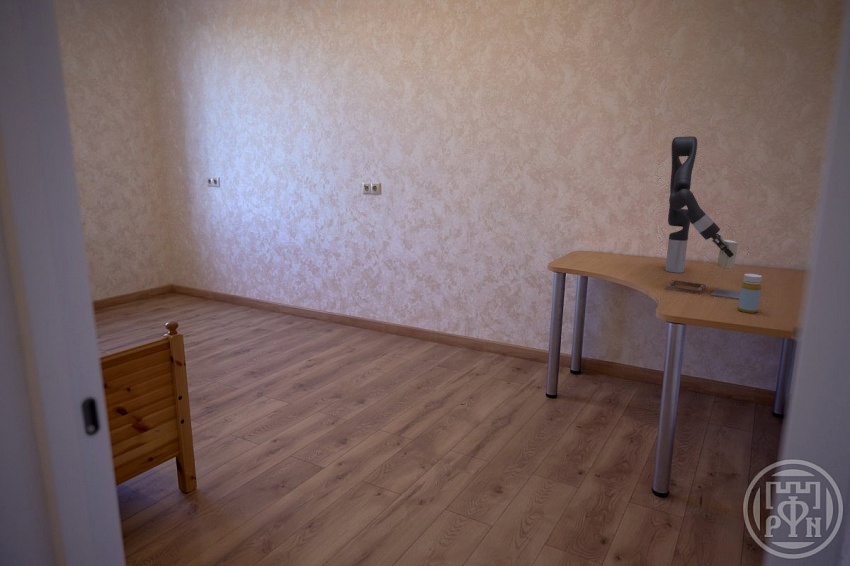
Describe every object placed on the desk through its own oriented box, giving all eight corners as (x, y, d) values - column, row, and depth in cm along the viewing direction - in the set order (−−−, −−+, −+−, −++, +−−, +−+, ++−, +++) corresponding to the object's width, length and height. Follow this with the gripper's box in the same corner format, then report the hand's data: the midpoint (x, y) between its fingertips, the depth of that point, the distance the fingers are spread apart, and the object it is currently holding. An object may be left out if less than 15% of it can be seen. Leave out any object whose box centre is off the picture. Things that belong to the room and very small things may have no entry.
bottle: (755, 309, 231) (761, 274, 227) (759, 314, 225) (764, 277, 221) (736, 307, 233) (741, 272, 230) (739, 312, 227) (745, 276, 223)
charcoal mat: (715, 289, 262) (715, 288, 262) (744, 293, 256) (744, 292, 255) (710, 295, 252) (711, 294, 251) (741, 300, 245) (741, 298, 245)
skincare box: (716, 266, 254) (720, 239, 251) (726, 266, 255) (730, 239, 252) (724, 269, 248) (728, 242, 245) (734, 269, 249) (738, 242, 246)
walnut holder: (671, 282, 274) (672, 279, 274) (705, 287, 266) (705, 284, 266) (665, 289, 262) (665, 285, 262) (699, 294, 254) (700, 290, 254)
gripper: (713, 223, 243) (740, 252, 241) (713, 219, 256) (738, 246, 254) (698, 234, 247) (724, 262, 245) (698, 230, 259) (723, 257, 257)
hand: (731, 254), depth 249 cm, fingers closed on skincare box, 7 cm apart
